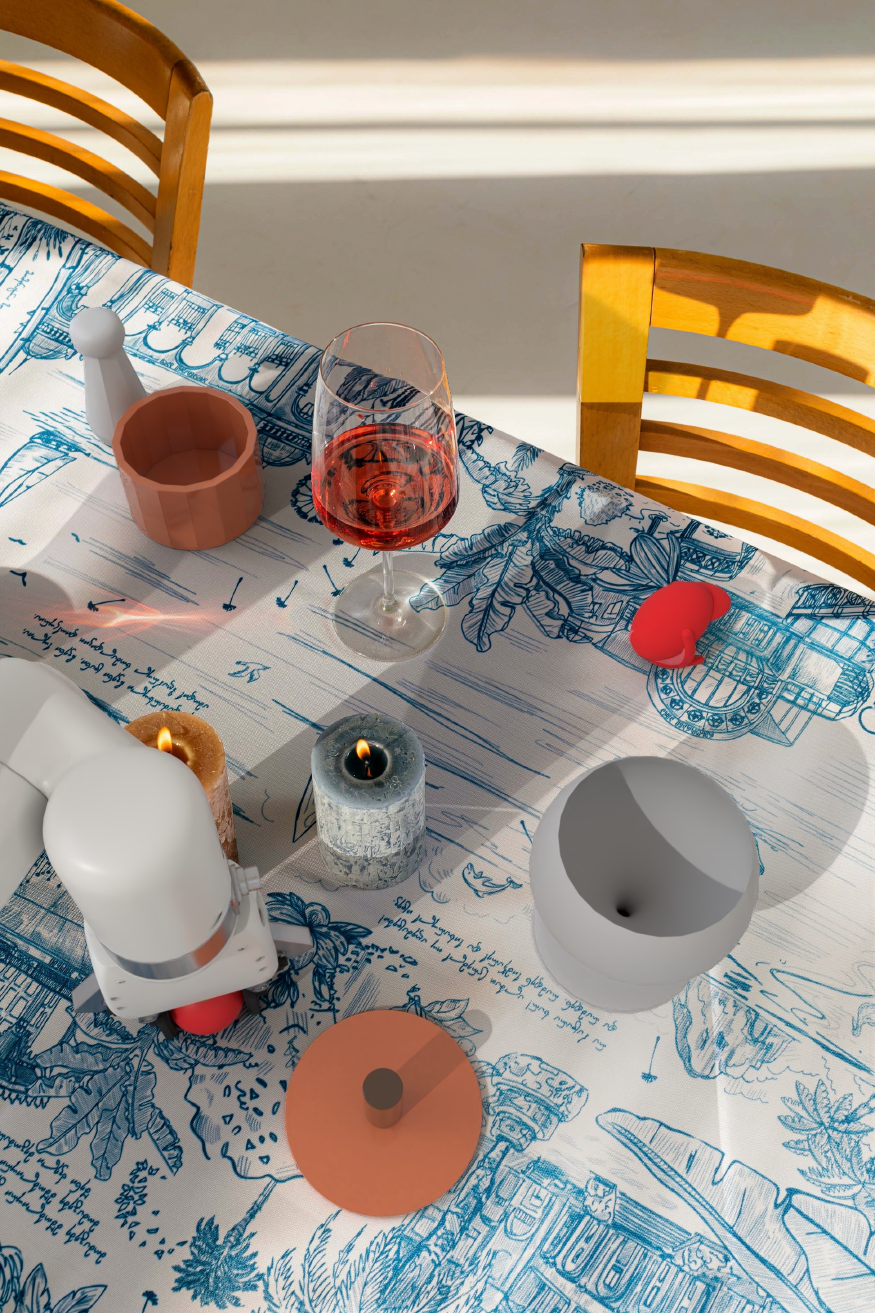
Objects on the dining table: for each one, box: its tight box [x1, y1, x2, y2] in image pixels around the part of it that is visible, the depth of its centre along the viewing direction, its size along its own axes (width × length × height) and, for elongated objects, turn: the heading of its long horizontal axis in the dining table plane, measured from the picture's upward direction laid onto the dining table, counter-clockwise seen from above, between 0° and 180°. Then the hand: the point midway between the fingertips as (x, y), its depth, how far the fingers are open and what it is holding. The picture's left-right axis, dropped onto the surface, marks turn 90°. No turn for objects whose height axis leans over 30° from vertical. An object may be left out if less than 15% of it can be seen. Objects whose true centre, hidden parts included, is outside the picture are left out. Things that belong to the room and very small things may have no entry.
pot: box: [111, 385, 266, 551], centre depth 99 cm, size 11×11×8 cm
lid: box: [283, 1009, 483, 1218], centre depth 73 cm, size 12×12×7 cm
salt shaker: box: [68, 306, 149, 448], centre depth 100 cm, size 6×6×13 cm
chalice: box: [528, 755, 761, 1015], centre depth 76 cm, size 14×14×15 cm
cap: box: [627, 580, 732, 670], centre depth 93 cm, size 8×6×6 cm
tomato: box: [169, 990, 245, 1036], centre depth 77 cm, size 5×5×5 cm
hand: (209, 1003), depth 79 cm, fingers closed on tomato, 4 cm apart
